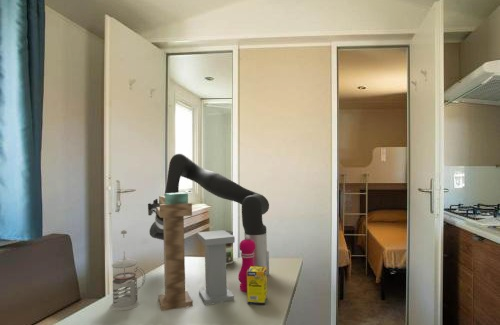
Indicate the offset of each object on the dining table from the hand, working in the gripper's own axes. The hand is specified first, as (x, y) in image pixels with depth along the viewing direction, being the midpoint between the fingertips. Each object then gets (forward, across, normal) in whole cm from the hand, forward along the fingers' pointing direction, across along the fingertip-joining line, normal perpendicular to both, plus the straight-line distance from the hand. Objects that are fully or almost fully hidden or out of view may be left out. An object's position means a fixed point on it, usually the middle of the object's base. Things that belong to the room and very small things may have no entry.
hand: (168, 200), depth 129 cm
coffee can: (-42, +28, +15) cm, 53 cm away
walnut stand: (-6, 0, +35) cm, 36 cm away
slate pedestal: (-6, +14, +36) cm, 39 cm away
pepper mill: (-8, +27, +34) cm, 44 cm away
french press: (-11, -15, +33) cm, 38 cm away
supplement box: (+2, +26, +40) cm, 48 cm away
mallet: (+5, 0, +5) cm, 7 cm away
